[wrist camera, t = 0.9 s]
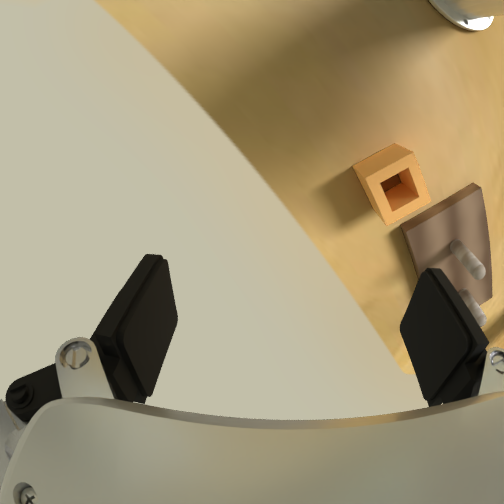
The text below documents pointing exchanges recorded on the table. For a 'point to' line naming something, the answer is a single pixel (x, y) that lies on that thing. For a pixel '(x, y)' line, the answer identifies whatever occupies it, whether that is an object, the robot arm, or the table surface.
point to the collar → (400, 196)
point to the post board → (455, 245)
